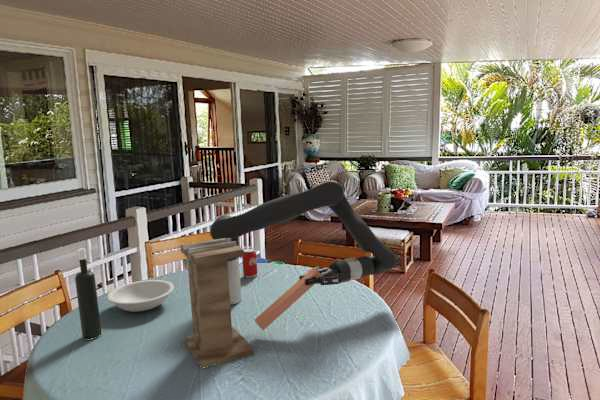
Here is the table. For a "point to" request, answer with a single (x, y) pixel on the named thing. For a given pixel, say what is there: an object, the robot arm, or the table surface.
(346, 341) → the table surface
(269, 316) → the stick
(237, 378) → the table surface
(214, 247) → the wooden pedestal
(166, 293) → the soup bowl
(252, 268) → the beverage can
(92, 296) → the wine bottle
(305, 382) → the table surface
